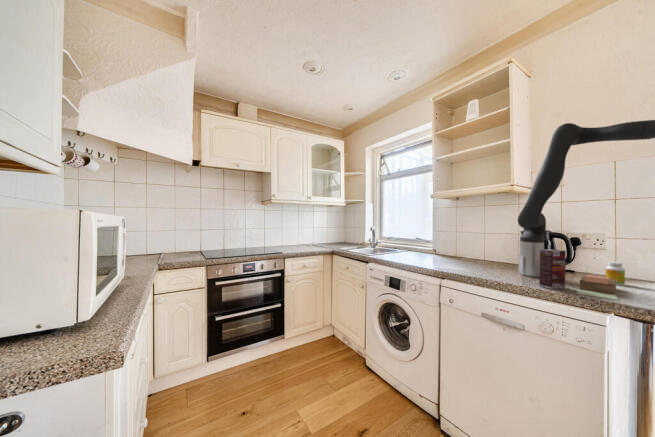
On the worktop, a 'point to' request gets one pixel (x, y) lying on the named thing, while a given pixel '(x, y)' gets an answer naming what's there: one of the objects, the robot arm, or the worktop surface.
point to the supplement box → (552, 268)
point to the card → (597, 279)
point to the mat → (597, 294)
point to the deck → (598, 286)
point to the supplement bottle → (616, 272)
